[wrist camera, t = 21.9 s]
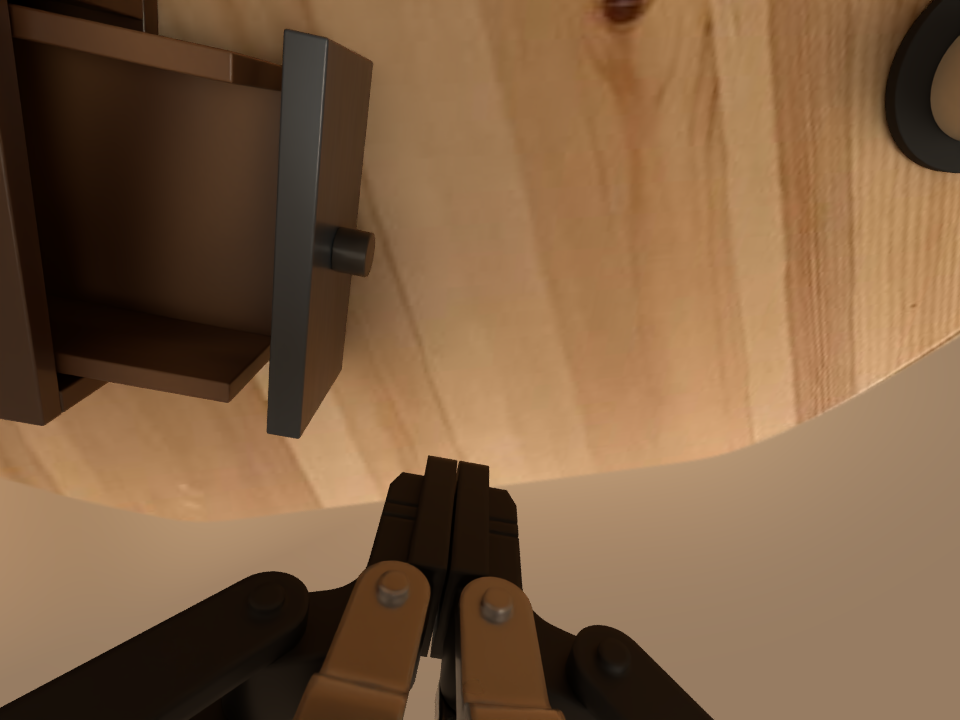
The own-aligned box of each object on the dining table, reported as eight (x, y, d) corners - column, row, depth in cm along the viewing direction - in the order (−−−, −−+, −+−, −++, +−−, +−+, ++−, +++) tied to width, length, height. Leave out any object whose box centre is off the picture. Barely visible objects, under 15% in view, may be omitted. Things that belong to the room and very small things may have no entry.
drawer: (406, 68, 20) (374, 47, 14) (368, 375, 25) (333, 446, 19) (-15, -24, 19) (-220, -83, 13) (34, 314, 24) (-101, 369, 18)
